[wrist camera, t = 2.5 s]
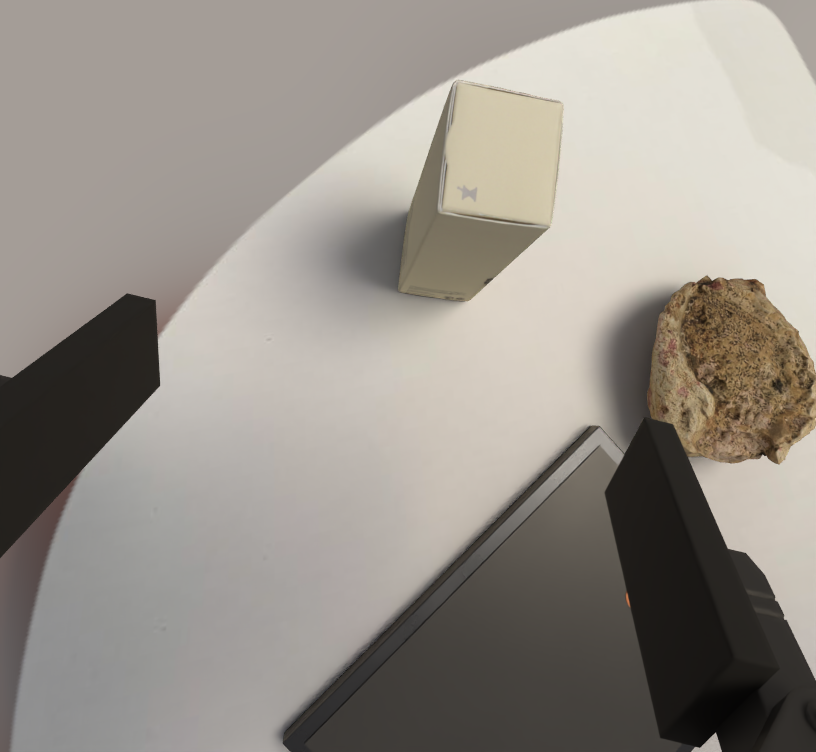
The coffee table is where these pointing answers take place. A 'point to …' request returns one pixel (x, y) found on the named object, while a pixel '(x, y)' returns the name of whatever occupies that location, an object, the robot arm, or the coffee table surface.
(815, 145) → the coffee table surface
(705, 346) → the tan rough lump
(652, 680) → the robot arm
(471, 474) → the coffee table surface
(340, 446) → the coffee table surface
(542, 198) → the box
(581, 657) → the tablet
